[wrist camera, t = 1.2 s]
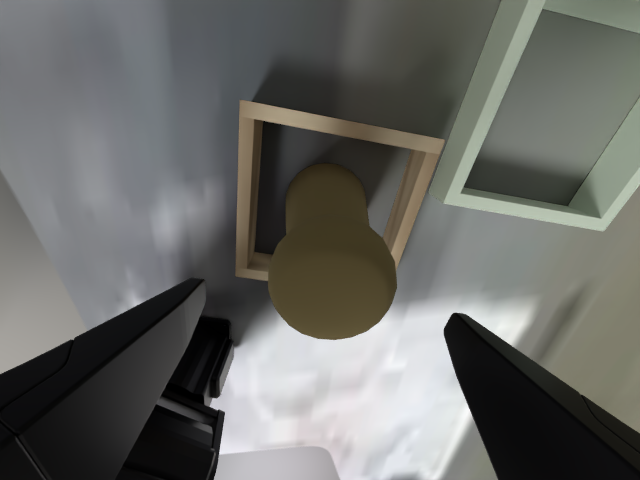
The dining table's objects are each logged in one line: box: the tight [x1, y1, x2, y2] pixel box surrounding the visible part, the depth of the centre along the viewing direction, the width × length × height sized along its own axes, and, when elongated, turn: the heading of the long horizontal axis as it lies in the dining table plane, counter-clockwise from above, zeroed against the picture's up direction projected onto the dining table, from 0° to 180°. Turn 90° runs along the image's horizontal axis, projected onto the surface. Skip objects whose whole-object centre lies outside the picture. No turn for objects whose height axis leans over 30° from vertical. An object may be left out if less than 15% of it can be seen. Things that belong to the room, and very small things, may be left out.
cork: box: [268, 163, 397, 340], centre depth 14 cm, size 6×6×11 cm
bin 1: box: [235, 100, 445, 281], centre depth 17 cm, size 12×12×2 cm
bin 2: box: [428, 0, 640, 231], centre depth 15 cm, size 12×12×2 cm
